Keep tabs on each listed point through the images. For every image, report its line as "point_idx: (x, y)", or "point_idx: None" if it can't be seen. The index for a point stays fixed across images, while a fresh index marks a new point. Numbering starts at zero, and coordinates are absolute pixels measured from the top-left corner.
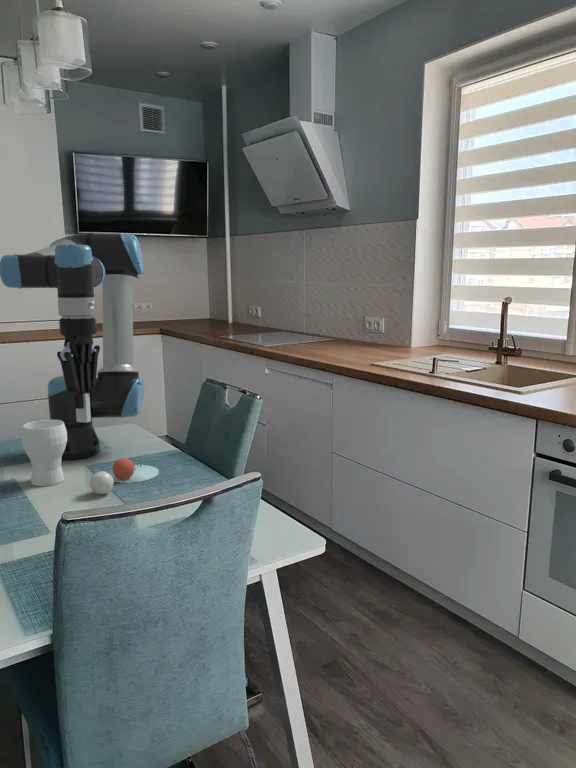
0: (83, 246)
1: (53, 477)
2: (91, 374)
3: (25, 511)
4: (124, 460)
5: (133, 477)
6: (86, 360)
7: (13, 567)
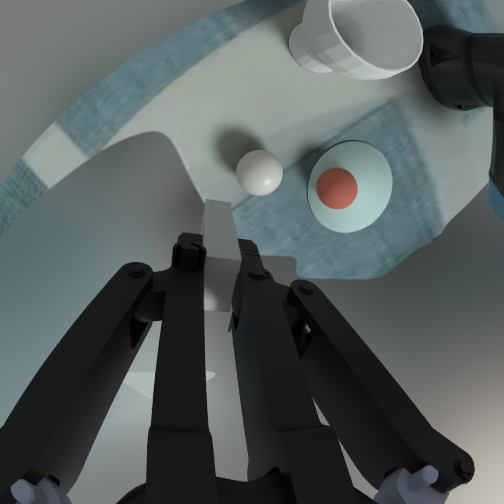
0: None
1: (303, 60)
2: (306, 372)
3: (162, 70)
4: (338, 199)
5: None
6: (253, 476)
7: (15, 174)
